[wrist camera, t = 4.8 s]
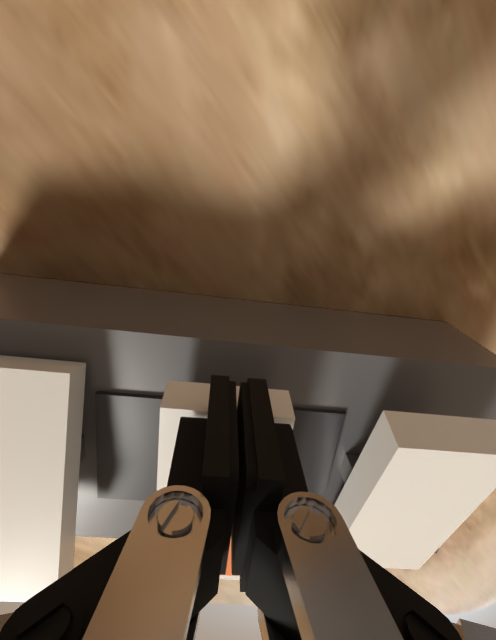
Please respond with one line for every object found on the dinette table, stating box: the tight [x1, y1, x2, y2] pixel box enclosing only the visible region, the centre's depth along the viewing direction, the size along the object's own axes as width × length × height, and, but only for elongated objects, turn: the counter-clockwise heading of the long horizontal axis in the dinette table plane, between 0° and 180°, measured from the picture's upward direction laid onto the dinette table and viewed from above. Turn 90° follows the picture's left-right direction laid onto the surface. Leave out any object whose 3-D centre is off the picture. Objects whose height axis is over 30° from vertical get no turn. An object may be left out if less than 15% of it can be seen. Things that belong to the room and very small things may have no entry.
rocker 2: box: [334, 410, 496, 569], centre depth 14 cm, size 8×4×1 cm, turn 172°
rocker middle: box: [157, 380, 295, 580], centre depth 13 cm, size 8×4×2 cm, turn 173°
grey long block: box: [0, 273, 496, 553], centre depth 16 cm, size 10×27×6 cm, turn 83°
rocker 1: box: [0, 355, 86, 602], centre depth 12 cm, size 8×4×1 cm, turn 173°
